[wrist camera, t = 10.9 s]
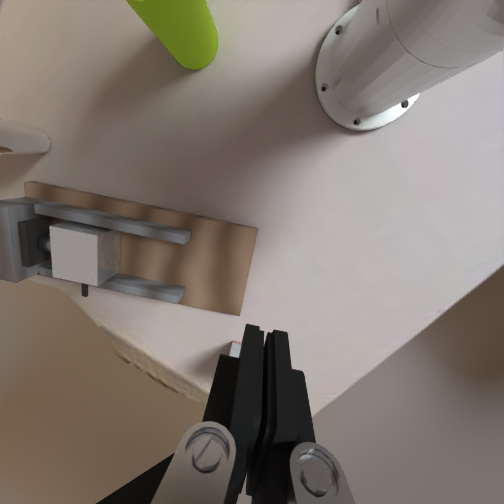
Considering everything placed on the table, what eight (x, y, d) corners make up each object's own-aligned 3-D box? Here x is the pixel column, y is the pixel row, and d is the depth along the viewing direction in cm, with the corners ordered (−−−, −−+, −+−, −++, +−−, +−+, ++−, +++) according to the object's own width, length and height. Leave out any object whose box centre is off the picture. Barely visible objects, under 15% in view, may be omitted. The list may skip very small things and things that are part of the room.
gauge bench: (257, 228, 36) (255, 242, 29) (240, 311, 40) (234, 341, 33) (33, 181, 36) (-25, 184, 29) (40, 269, 41) (-8, 290, 33)
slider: (120, 227, 35) (97, 235, 31) (118, 289, 39) (97, 306, 34) (58, 214, 35) (25, 220, 31) (61, 277, 39) (32, 293, 34)
